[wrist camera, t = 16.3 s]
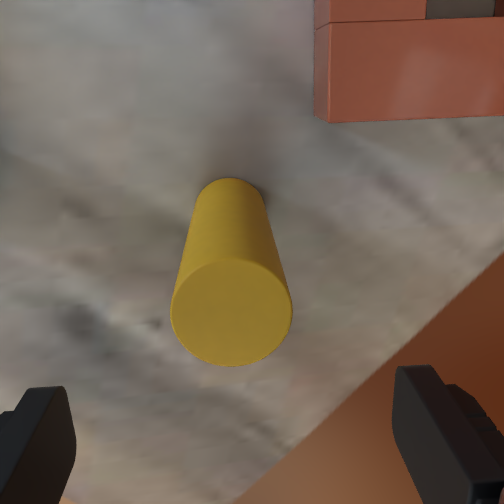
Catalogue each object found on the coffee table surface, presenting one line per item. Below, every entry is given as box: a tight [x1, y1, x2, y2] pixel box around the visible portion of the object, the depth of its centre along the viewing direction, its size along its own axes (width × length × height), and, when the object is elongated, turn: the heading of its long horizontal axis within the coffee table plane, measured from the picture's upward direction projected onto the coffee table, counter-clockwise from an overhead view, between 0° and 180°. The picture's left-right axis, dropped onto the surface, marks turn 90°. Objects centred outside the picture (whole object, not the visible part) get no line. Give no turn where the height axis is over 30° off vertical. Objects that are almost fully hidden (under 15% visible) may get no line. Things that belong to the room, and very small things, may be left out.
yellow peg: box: [170, 178, 293, 367], centre depth 22 cm, size 4×4×13 cm
